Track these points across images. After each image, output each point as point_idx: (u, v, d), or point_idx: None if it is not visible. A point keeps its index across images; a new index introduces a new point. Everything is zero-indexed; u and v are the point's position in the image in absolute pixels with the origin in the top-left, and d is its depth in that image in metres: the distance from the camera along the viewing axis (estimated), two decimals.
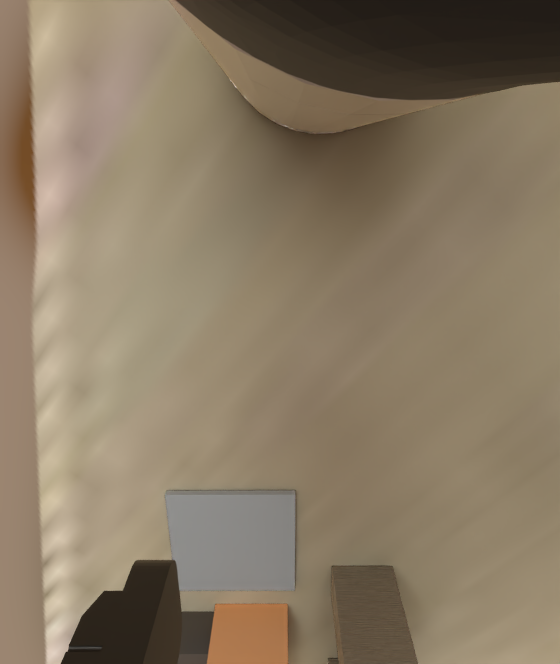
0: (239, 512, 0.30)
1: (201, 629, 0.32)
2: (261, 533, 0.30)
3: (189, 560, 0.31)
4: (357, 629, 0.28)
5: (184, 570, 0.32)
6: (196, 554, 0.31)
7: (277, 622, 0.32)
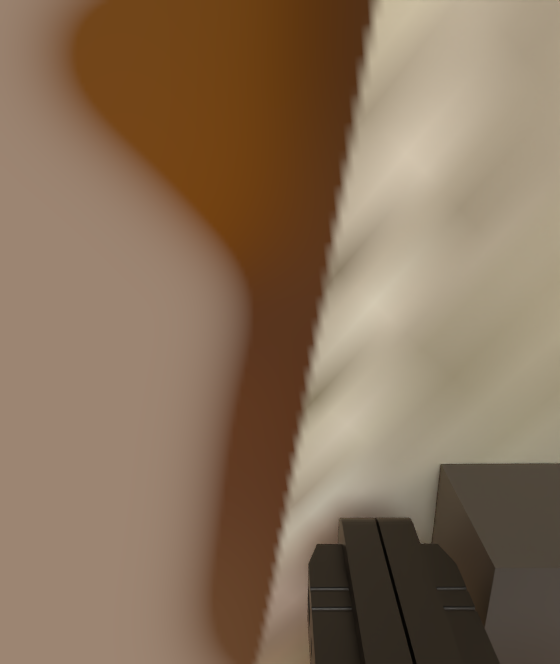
0: None
1: None
2: None
3: None
4: None
5: None
6: None
7: None
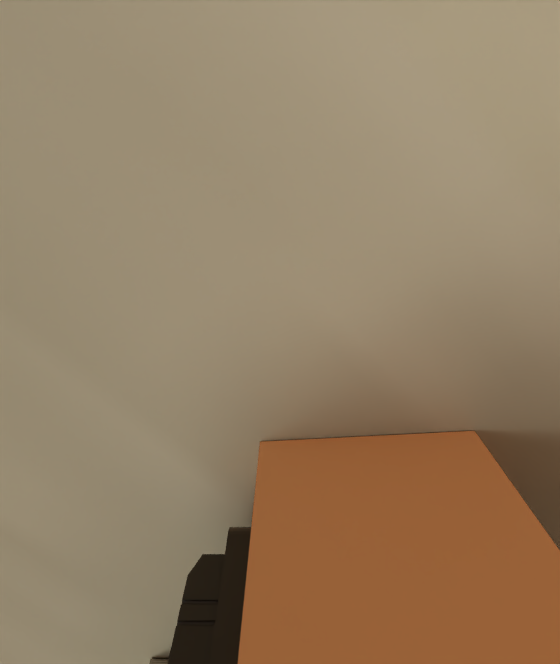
0: None
1: None
2: None
3: None
4: None
5: None
6: None
7: None
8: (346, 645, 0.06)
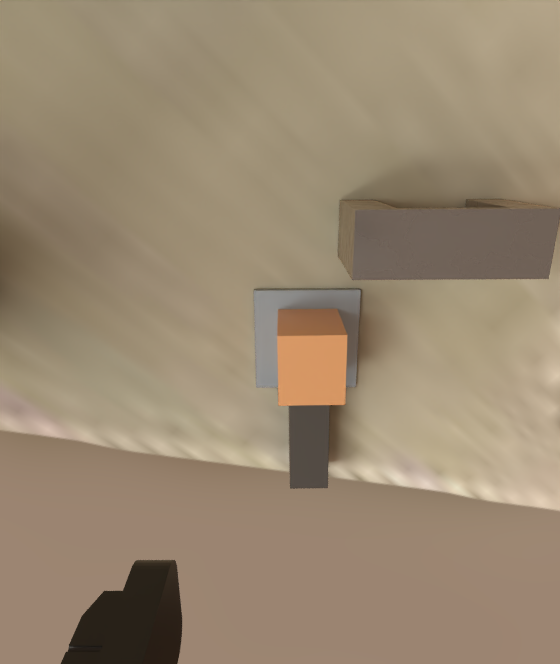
0: (272, 334, 0.37)
1: None
2: None
3: None
4: (346, 253, 0.31)
5: None
6: None
7: None
8: (296, 328, 0.32)
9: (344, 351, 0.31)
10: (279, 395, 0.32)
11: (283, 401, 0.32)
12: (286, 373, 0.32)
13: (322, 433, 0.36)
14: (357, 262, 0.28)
